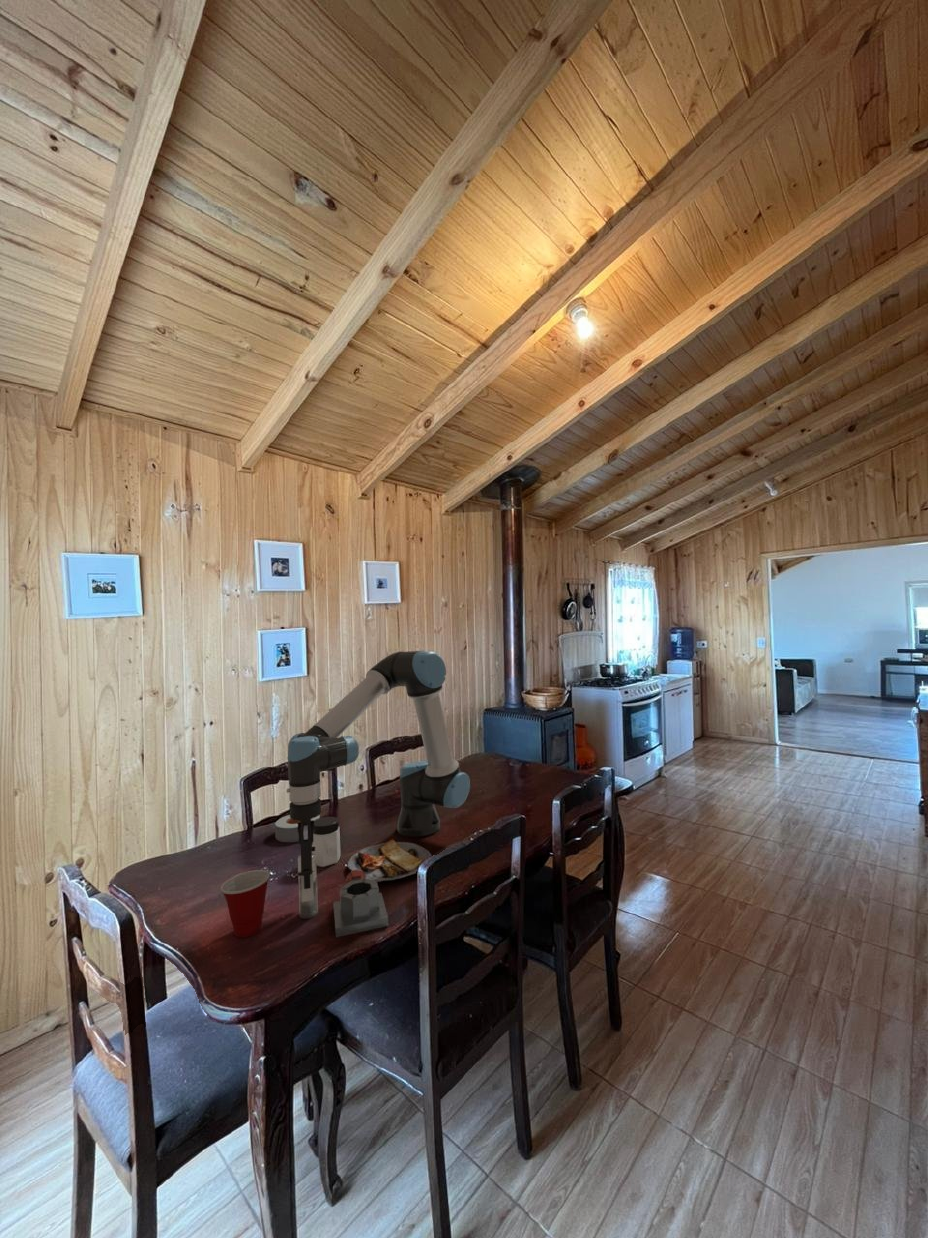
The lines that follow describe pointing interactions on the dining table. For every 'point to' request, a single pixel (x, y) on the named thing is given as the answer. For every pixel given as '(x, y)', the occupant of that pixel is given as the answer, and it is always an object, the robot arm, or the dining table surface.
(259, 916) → the plastic cup
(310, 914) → the pipe stub
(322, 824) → the jar
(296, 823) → the tape roll
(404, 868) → the food plate
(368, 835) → the dining table surface
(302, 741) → the robot arm
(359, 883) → the valve body
